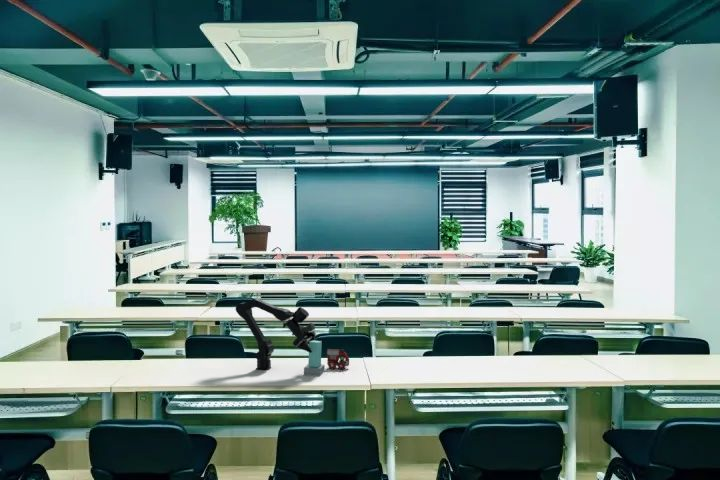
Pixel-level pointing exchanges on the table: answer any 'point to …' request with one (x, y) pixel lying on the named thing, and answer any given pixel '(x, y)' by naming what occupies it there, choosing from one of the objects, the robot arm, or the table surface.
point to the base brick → (314, 370)
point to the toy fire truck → (334, 357)
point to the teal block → (315, 353)
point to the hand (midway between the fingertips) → (314, 350)
